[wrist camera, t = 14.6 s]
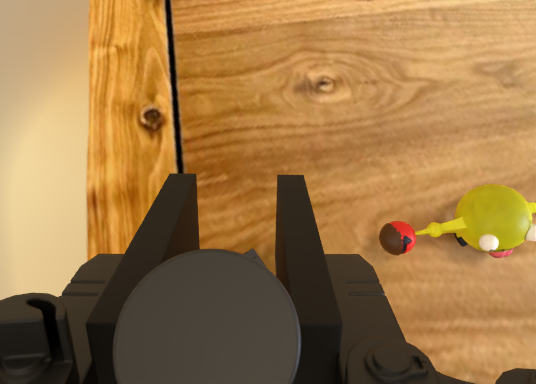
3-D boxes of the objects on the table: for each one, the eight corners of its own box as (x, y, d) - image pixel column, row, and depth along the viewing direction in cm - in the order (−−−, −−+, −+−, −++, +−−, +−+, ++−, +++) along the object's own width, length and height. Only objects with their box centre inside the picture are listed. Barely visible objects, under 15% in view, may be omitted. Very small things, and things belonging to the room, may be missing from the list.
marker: (244, 327, 22) (213, 212, 6) (278, 363, 21) (341, 340, 5) (208, 363, 21) (71, 338, 5) (242, 402, 20) (198, 500, 5)
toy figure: (379, 291, 35) (405, 273, 29) (358, 227, 37) (378, 198, 31) (579, 244, 37) (644, 218, 31) (549, 185, 39) (604, 150, 33)
